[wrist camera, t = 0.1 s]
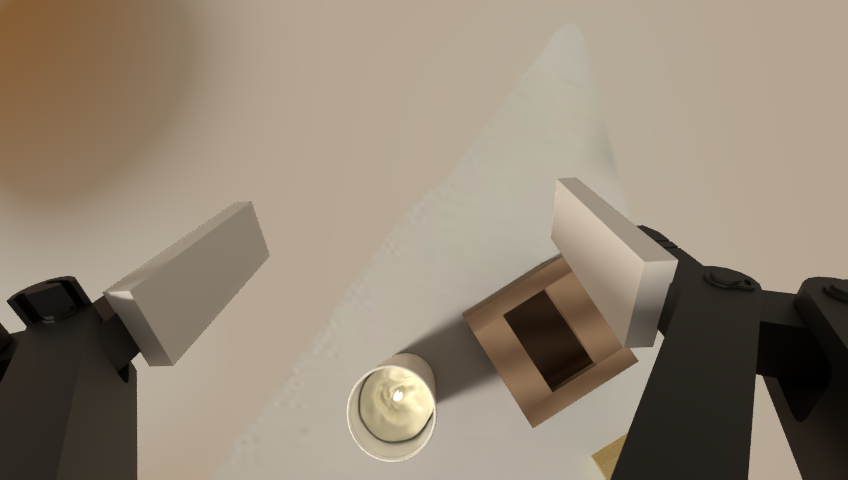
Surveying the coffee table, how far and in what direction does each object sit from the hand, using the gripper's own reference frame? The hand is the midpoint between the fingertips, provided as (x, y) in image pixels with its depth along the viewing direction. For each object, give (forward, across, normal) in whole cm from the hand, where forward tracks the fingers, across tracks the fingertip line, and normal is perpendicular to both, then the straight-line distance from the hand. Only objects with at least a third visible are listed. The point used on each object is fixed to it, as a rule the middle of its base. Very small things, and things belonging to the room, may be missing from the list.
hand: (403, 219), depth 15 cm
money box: (+24, -13, +28) cm, 39 cm away
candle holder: (+20, +5, +34) cm, 40 cm away
